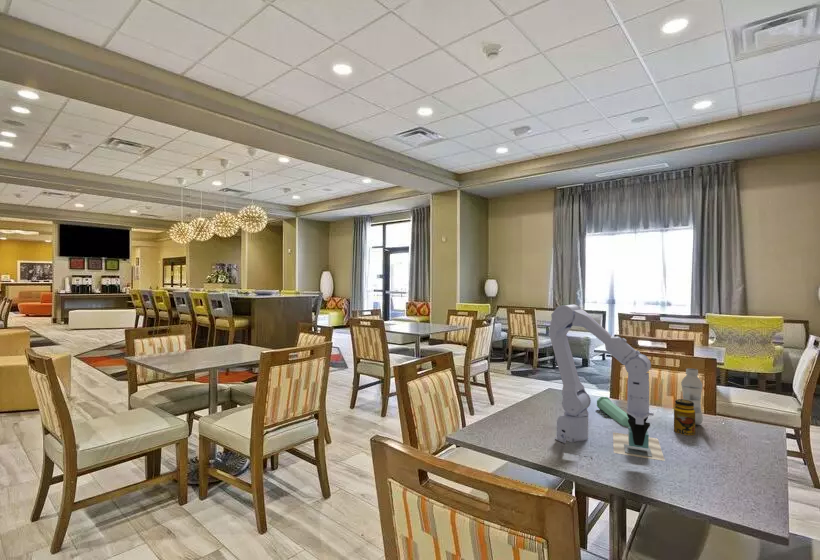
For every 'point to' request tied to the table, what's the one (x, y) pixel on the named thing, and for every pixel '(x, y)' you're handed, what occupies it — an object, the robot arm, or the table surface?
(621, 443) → the post board
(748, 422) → the table surface
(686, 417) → the condiment
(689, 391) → the plastic bottle
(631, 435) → the teal slotted block
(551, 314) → the robot arm
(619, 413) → the pale green rod
